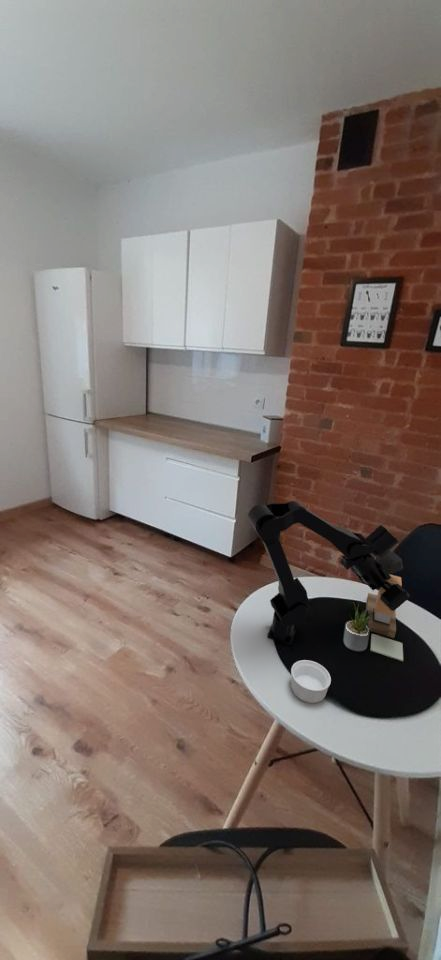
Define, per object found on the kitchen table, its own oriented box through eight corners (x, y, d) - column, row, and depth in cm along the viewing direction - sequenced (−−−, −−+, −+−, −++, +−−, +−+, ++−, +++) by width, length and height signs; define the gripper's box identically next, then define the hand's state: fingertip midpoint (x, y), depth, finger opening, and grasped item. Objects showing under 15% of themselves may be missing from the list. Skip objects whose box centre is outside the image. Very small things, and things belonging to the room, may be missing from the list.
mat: (402, 661, 100) (403, 660, 100) (370, 650, 103) (370, 649, 103) (401, 644, 107) (402, 643, 107) (371, 634, 109) (371, 633, 109)
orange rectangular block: (390, 625, 110) (401, 585, 106) (372, 620, 111) (383, 580, 107) (390, 615, 114) (401, 577, 110) (373, 610, 115) (383, 572, 111)
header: (394, 638, 109) (396, 631, 108) (364, 629, 111) (366, 621, 111) (393, 607, 123) (394, 600, 122) (366, 599, 126) (368, 592, 125)
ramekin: (286, 698, 86) (288, 683, 85) (290, 669, 94) (293, 655, 93) (326, 711, 84) (330, 695, 83) (328, 680, 92) (331, 666, 91)
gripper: (412, 564, 96) (437, 600, 102) (368, 530, 113) (392, 562, 119) (377, 593, 96) (404, 627, 102) (339, 555, 113) (364, 586, 119)
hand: (391, 598), depth 111 cm, fingers closed on orange rectangular block, 7 cm apart
